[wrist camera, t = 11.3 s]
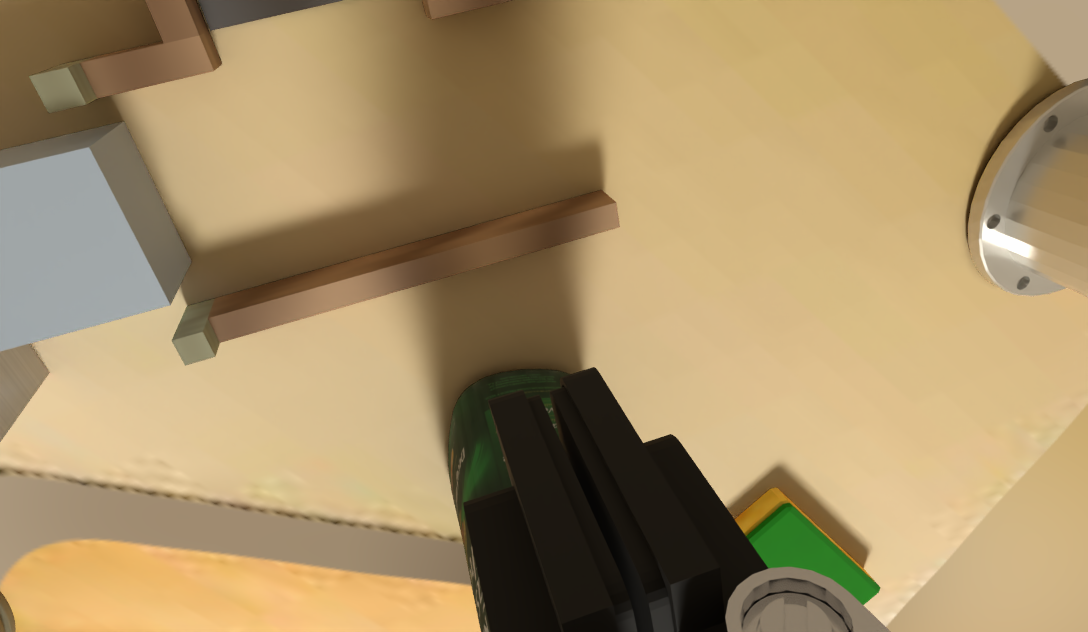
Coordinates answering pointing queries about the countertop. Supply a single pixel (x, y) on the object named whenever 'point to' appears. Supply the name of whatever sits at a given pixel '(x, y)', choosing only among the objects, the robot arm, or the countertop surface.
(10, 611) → the can
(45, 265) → the slate block
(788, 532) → the dish sponge
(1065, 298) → the countertop surface
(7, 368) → the light grey upright block
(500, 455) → the coffee jar
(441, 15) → the brown wooden open frame
